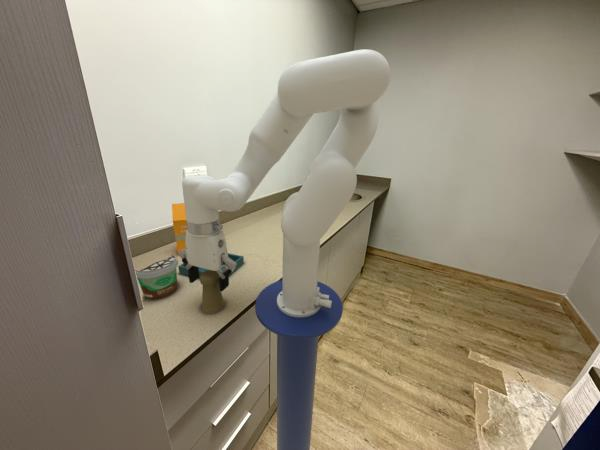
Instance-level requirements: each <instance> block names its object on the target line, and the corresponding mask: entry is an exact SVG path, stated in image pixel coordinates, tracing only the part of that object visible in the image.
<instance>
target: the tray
mask: <svg viewBox="0 0 600 450" xmlns="http://www.w3.org/2000/svg"><path fill="white" fill-rule="evenodd" d="M228 257H229V258H230V259H232V260H233V261H235V262H236V263H237V265H236V267H235V269H234V271H233V272H232V273H230V274H229V277H230V276H231V275H232V274H233V273H235V272H236V271H237V270H238V269H239V268H240V267H242V266H243V265H244V264H245V259H244V256H243V255H239V254H234V253H228ZM225 265H226V266H227V267H228V268H229V266H228V265H227V264H225ZM177 267H178V274H179V275H183V276H187V277H189V274H188V270H187V269H186V268H185V267H186V265H185V264H184V263H183V262H182V263H181V264H179V265H178V266H177ZM198 269H199V278H198V279H197V280H200V276H201V274H202V273H203V272H204V271H207V270H208V269H204V268H200V267H198ZM221 270H222V271H223V273H224V272H225V271H224V270H223V269H222V268H221Z"/></svg>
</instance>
